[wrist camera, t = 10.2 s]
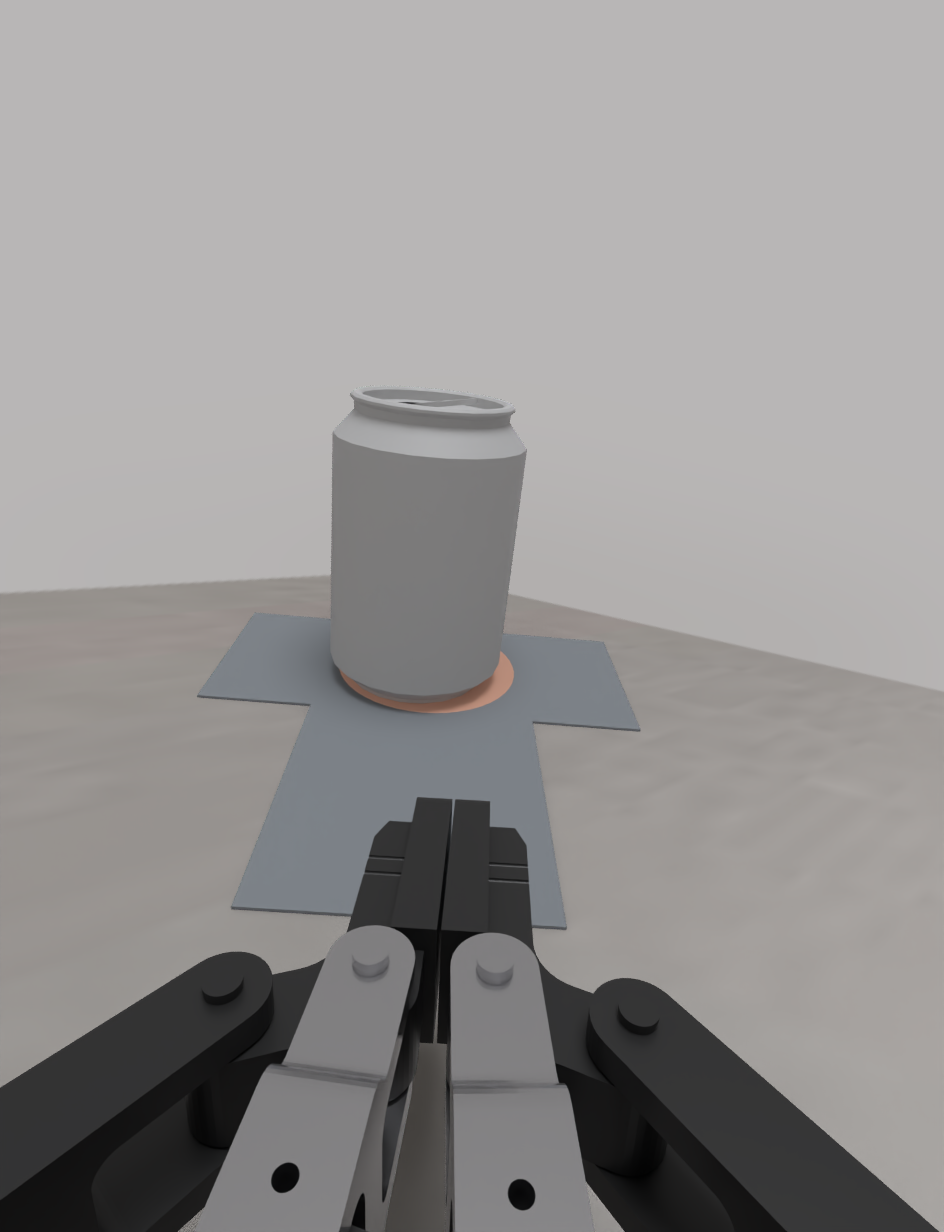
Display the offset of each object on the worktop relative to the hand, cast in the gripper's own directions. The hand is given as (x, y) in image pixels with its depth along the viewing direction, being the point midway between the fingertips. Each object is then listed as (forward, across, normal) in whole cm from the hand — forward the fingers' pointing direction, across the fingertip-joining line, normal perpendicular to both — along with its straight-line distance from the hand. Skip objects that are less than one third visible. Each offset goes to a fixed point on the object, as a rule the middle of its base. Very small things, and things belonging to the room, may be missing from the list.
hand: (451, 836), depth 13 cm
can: (+16, +3, +3) cm, 17 cm away
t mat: (+12, +2, +4) cm, 13 cm away
